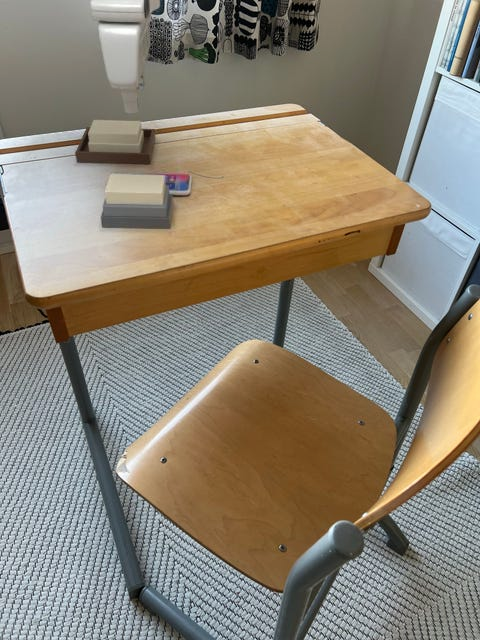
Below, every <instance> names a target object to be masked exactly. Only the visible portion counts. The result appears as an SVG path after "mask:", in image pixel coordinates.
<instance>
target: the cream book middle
mask: <svg viewBox="0 0 480 640" xmlns="http://www.w3.org/2000/svg"><path fill="white" fill-rule="evenodd" d="M89 127H90V130H89V132H88V136H89V142H90V143H114V144H139V140H140V136H141V132H142V129H143V125H142V121H141V120H117V119H115V120H114V119H112V120H111V119H93V120H92V123H91V125H90V126H89Z"/></svg>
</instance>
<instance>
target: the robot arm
mask: <svg viewBox="0 0 480 640" xmlns="http://www.w3.org/2000/svg"><path fill="white" fill-rule="evenodd" d="M89 1H90V2H89V7H90V14H91V18H92V20H93V21H94V22H95V21H96V22H98V23H97V30H98V37H99V43H100V48H101V53H102V59H103V64H104V68H105V74H106V77H107V80H108V83H109V85H110V87H111V88H113V89H119V92H120V95H121V98H122V101H123V111H124V112H125V113H127V114H137V113H138V110H139V100H138V94H137V91H143V90H144V88H145V84H146V82H145V64H146V60H147V57H148V54H149V51H150V48H151V31H150V23H151V21H152V13H153V12H154V11H156V10H158V9H160V7H161V0H89Z"/></svg>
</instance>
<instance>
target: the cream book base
mask: <svg viewBox="0 0 480 640" xmlns="http://www.w3.org/2000/svg"><path fill="white" fill-rule="evenodd" d="M143 143H144V133H143V130H142V132H141V136H140V140H139V144H114V143H90V142H89V143H88V146H89V152H124V153H141V151H142V147H143Z"/></svg>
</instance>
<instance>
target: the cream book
mask: <svg viewBox="0 0 480 640" xmlns="http://www.w3.org/2000/svg"><path fill="white" fill-rule="evenodd" d="M165 188H166V184H165V175H134V174H113V173H110V174H109V178H108V180H107V183H106V186H105V190H104V196H105V197H104V199H105V198H106V204H137V205H163V201H164V195H165Z"/></svg>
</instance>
